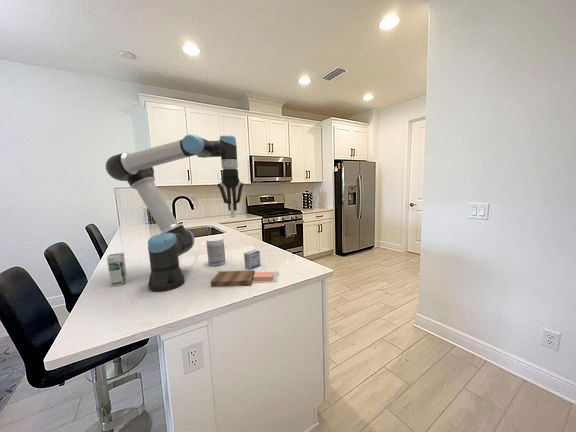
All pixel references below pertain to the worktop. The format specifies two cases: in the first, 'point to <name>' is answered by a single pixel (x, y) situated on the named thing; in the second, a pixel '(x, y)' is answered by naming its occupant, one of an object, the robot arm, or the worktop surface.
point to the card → (263, 276)
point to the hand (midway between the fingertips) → (233, 217)
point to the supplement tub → (215, 251)
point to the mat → (275, 275)
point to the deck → (233, 278)
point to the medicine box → (252, 259)
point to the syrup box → (117, 269)
